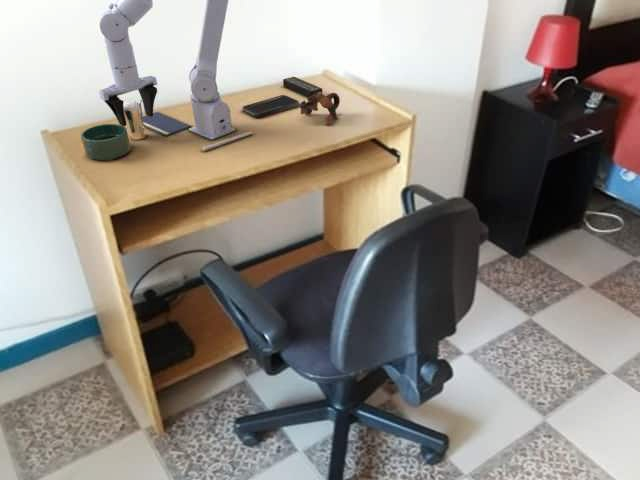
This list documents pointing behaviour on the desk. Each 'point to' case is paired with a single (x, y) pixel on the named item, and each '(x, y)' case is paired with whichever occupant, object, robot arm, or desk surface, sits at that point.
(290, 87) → the multiport hub
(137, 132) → the milkshake
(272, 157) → the desk surface
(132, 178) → the desk surface
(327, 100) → the brown looped figurine
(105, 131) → the bowl
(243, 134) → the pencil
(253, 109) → the phone
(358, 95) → the desk surface
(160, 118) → the blue notebook
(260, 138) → the desk surface
